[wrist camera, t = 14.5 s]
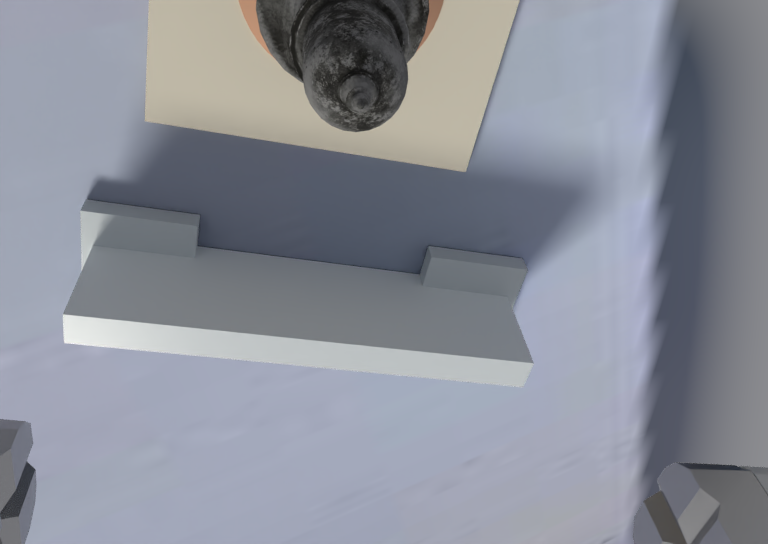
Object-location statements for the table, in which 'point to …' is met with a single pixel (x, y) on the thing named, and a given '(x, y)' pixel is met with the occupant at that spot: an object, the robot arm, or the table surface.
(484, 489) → the table surface
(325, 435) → the table surface
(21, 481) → the robot arm
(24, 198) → the table surface
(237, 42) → the mat
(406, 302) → the acrylic wall
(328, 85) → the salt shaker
